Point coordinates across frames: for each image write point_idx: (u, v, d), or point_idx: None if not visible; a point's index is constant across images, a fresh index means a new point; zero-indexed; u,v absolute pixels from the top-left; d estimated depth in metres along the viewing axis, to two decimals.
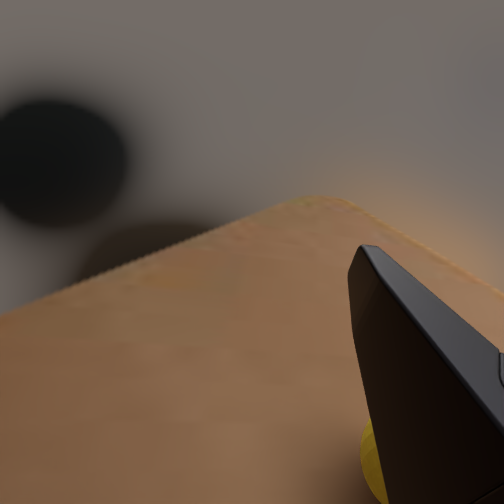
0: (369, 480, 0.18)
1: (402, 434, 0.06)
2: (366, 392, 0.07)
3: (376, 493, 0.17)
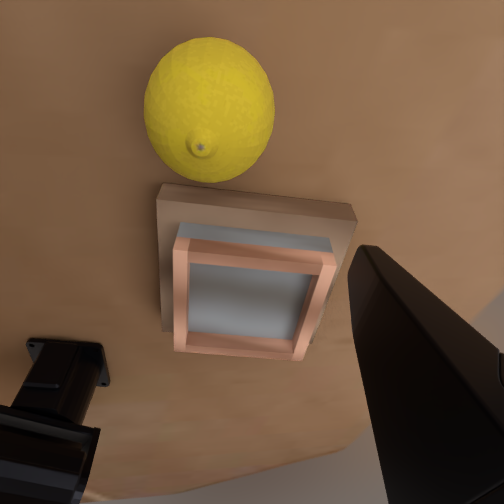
0: None
1: (402, 434, 0.06)
2: (366, 392, 0.07)
3: None
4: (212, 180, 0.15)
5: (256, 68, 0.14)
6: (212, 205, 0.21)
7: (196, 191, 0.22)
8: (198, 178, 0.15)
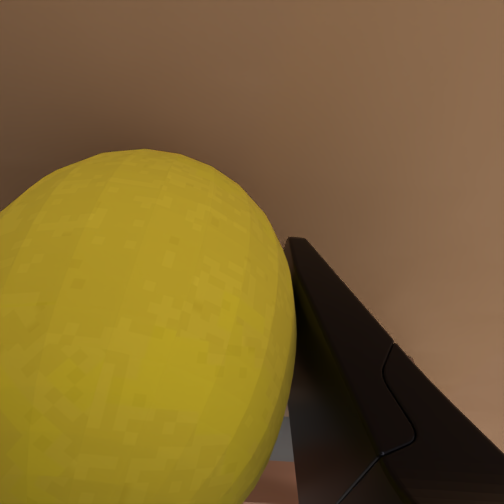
0: None
1: (306, 427, 0.06)
2: None
3: None
4: None
5: (248, 271, 0.05)
6: None
7: None
8: None
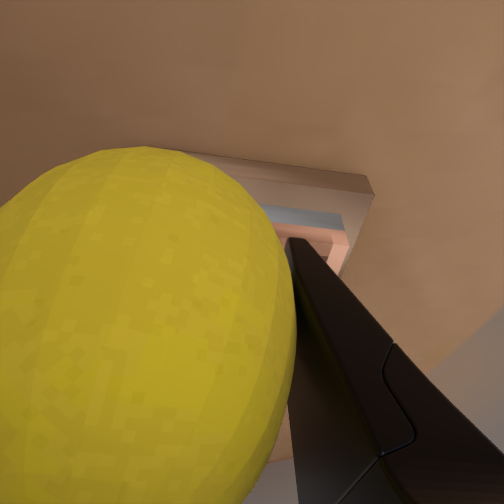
0: None
1: (306, 427, 0.06)
2: None
3: None
4: None
5: (248, 268, 0.05)
6: None
7: None
8: None
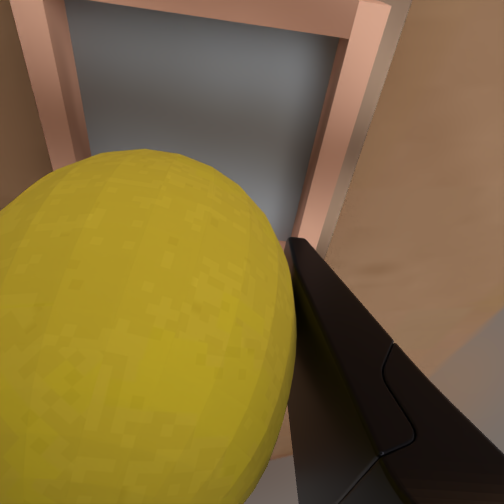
0: None
1: (306, 427, 0.06)
2: None
3: None
4: None
5: (248, 271, 0.05)
6: None
7: None
8: None
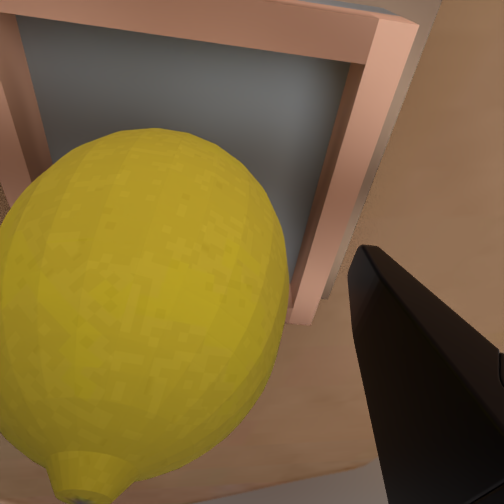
0: None
1: (402, 434, 0.06)
2: (366, 392, 0.07)
3: None
4: None
5: (247, 225, 0.06)
6: None
7: None
8: None
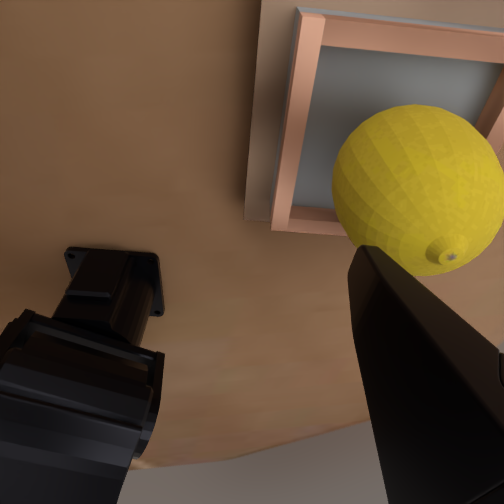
0: None
1: (402, 434, 0.06)
2: (366, 392, 0.07)
3: None
4: None
5: None
6: None
7: None
8: None
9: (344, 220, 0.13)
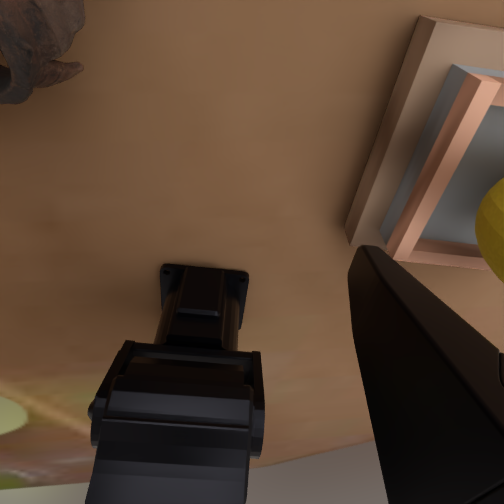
0: (478, 231, 0.16)
1: (402, 434, 0.06)
2: (366, 392, 0.07)
3: None
4: None
5: None
6: None
7: (470, 23, 0.16)
8: None
9: None
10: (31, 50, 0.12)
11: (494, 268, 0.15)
